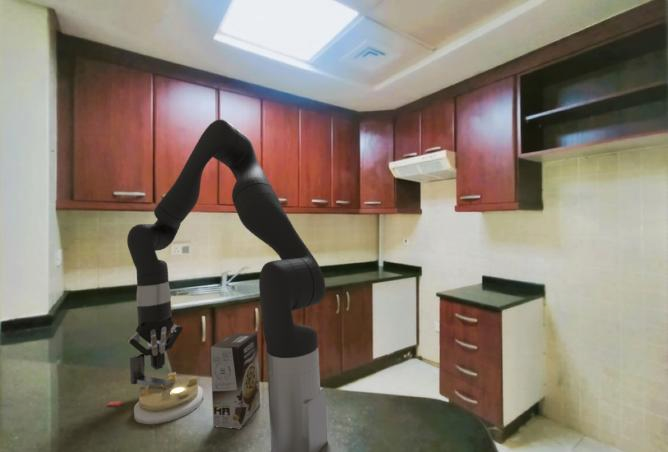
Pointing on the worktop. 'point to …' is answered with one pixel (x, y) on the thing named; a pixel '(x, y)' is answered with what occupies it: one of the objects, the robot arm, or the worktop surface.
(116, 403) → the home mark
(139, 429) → the worktop surface
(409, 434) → the worktop surface
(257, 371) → the coffee box
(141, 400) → the gold oval piece
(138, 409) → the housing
